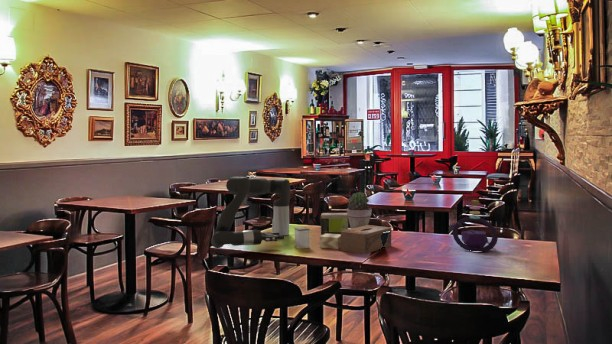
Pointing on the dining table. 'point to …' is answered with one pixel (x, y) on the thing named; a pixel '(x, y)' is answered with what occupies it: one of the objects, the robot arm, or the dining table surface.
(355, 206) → the potted plant
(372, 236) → the tissue box cover
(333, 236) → the chevron patterned box
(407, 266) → the dining table surface
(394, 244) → the dining table surface
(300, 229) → the canister
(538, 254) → the dining table surface
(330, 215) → the tea box
